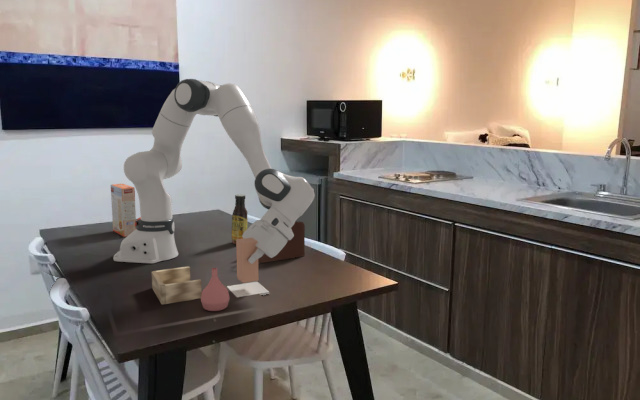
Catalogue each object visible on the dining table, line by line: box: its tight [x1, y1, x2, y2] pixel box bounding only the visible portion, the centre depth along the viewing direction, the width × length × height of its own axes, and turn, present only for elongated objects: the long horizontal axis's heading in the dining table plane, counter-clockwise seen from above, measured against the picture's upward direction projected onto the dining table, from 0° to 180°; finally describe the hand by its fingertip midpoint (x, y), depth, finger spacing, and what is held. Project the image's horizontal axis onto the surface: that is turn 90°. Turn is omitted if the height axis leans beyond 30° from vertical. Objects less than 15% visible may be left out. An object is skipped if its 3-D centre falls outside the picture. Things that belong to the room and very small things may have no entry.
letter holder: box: [258, 220, 306, 265], centre depth 188 cm, size 10×20×14 cm, turn 123°
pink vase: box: [200, 267, 230, 312], centre depth 138 cm, size 8×8×12 cm
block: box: [235, 238, 260, 284], centre depth 151 cm, size 5×5×12 cm
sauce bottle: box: [231, 193, 249, 245], centre depth 205 cm, size 7×6×20 cm
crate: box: [150, 266, 203, 305], centre depth 149 cm, size 11×14×6 cm
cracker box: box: [110, 183, 137, 238], centre depth 218 cm, size 14×6×21 cm, turn 39°
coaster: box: [225, 281, 270, 298], centre depth 153 cm, size 10×10×1 cm
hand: (245, 259), depth 151 cm, fingers closed on block, 5 cm apart
